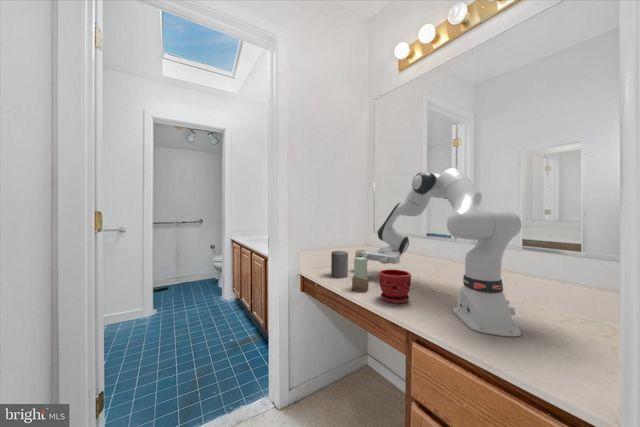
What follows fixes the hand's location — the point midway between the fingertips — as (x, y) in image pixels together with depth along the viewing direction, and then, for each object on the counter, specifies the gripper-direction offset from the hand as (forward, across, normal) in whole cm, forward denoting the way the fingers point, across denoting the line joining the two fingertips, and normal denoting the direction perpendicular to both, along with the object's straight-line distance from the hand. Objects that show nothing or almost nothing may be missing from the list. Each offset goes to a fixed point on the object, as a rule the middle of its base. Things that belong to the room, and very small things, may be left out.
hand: (372, 259), depth 131 cm
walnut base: (+12, 0, +13) cm, 17 cm away
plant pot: (+14, +18, +13) cm, 26 cm away
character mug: (-17, -17, +13) cm, 27 cm away
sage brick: (+12, 0, +7) cm, 13 cm away
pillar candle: (0, -21, +13) cm, 25 cm away
